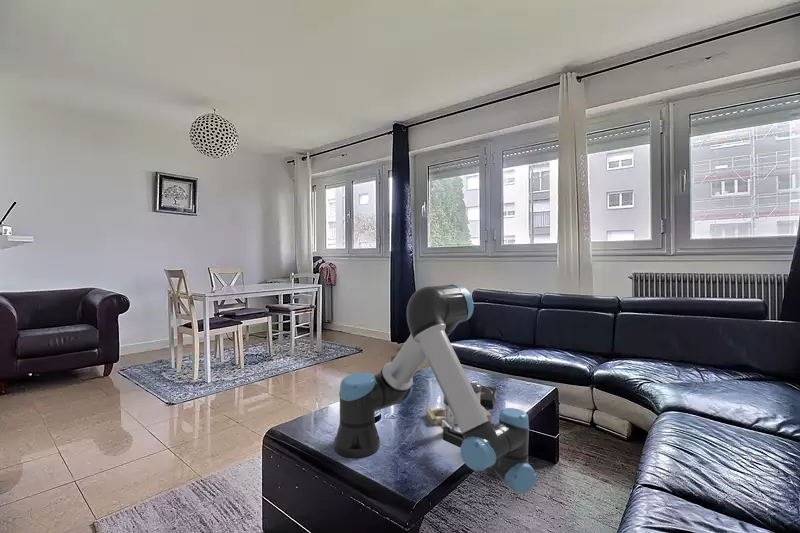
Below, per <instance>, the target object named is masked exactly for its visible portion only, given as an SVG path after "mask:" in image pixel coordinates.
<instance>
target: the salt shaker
mask: <svg viewBox="0 0 800 533" xmlns="http://www.w3.org/2000/svg"><path fill="white" fill-rule="evenodd" d="M443 404H444V408H445V418H444V421H445V422H446V423H447V424H448V425H449V426H450V427H451V428H452V430H454V431H455V424H454V421H455V418H454V416H453V414H452V411H451V409H450V407H449V405H448V403H447V401H446V399H445V397H444V396H443Z"/></svg>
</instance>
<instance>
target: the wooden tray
mask: <svg viewBox="0 0 800 533" xmlns="http://www.w3.org/2000/svg"><path fill="white" fill-rule="evenodd" d="M482 408H483V410H484V412H485V414H486V416H487V418H488V420H489V422H490V423H492V414H491V413H490V412H489V411H488V410H487V408H484V407H483V406H482ZM425 416H426V417H427V419H428V420H429V423H430V424H431V426H442V420H444V418H445V407H441V408H440V407H439V408H426V414H425ZM454 425H458V424H457V422H456V420H455V421H454Z"/></svg>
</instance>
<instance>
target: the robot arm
mask: <svg viewBox="0 0 800 533" xmlns="http://www.w3.org/2000/svg"><path fill="white" fill-rule="evenodd" d="M474 308H475V307H474V300H473V297H472V295H471V293H470V291H468V289H467V288H466V287H464V286H462V285H460V284H452V283H451V284H447V285H435V286H433V285H432V286H431V285H430V286H423V287H421V288H419V289H417V290H416V291H414V292H413V294H412V295H411V297H410V298H409V299H408V302H407V306H406V322H407V325H408V328H409V332H410V335H409V337H408V338H407V339H406V340H405V342H404V343H403V345H402V346H401V348H400V350H399V351H398V352H397V354H396V355H395V357H394V358H393V359H392V361H389V362H386V363H385V364H384V366H383V367H382V368H381V369H380V371H379V373H376V374H372V373H370V372H364V371H363V372H355V373H351V374H349V375H347V376H345V377H344V378H343V379H342V380H341V382H340V386H339V394H338V395H339V425H338V428H337V432H336V435H335V437H334V439H333V440H334V441H333V444H334V445H333V449H334V451H335V452H336V453H337V454H338V455H340V456H343V457H345V458H355V459H357V458H363V457H368V456H371V455H373V454H375V453H377V451H378V450H379V449H380V446H381V443H380V442H381V440H380V436H379V432H378V429H377V426H376V421H375V416H376V412H377V411H380V410H382V409H386V408H388V407H391V406H395V405H399V404H402V403H403V402H405V401H407V400H408V399H409V398H410V397H411V395H412V393H413V389H414V388H413V385H414V382H413V381H414V379H413V377H414V376H415V375H416V373H417V371H419V369H420V367H422V365H423V363H424V362H425V361H427V362H428V365H429V366H430V369H431V370H432V373H433V375H434V377H435V379H436V382H437V383H438V386H439V388H440V390H441V392H442V394H443V398H444V397H445V399H446V401H447V403H448V405H449V407H450V409H451V411H452V414H453V416H454V418H455V420H456V422H457V424H456V425H457V426H458V428H459V431H460V432H459V431H457V430H455V429H454V430H452V428H451V427H450V426H449V425H448V424H447V423H446V422H445V421H444V420H442V425H441V430H442V440H443V441H445V442H447V443H448V444H449V443H450V444H451V445H454V446H456V447H458V448H460V456H461V459H462V461H463V463H464V464H465V465H466V466H467V467H468V468H469V469H471V470H473V471H477V472H479V471H484V470H486V469H487V468H490V469H491V470H492V471H493V472H494V473H496V475H497V476H498V477H499V478H500V479H501V480H502V482H504V484H505V485H506V486H507V487H508V488H510V489H511V490H512V491H513V492H515V493H518V494H525V493H528V492H529V491H531V490H532V489H533V488H534V486H535V484H536V481H537V474H536V471H535V469H534V468H533V466H532V465H531V464H529V435H530V434H529V433H530V431H529V430H530V425H529V424H530V423H529V421H530V420H529V415H528V413H526V412H525V411H523V409H520V408H514V407H508V408H507V407H505V408H502V409H500V411H499V415H498V422H496V423H492V422H489V420H488V418H487V416H486V414H485V412H484V410H483V408H482V406H481V404H480V402H479V400H478V398H477V396H476V394H475V392H474V390H473V388H472V386H471V382H470V380H469V378H468V376H467V373H466V372H465V370H464V368H463V366H462V364H461V362H460V360H459V357H458V356H457V353H456V351H455V350H454V347H453V346H452V343H451V342H450V340H449V337H448V336H450V335H451V334H452V333H453V331H454V330H455V329H456V327H457V326H458V325H459V324H460V323H464V322H466V321H468V320H469V319H470V318H471V317H472V315H473V314H474Z"/></svg>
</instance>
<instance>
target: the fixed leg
mask: <svg viewBox="0 0 800 533" xmlns="http://www.w3.org/2000/svg"><path fill="white" fill-rule="evenodd" d="M470 384H471V386H472V388H473V390H474V392H475V394H476V396H477V398H478V400H479V402H480V391H481V388H482V384H481V383H478V382H472V383H471V382H470Z"/></svg>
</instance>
